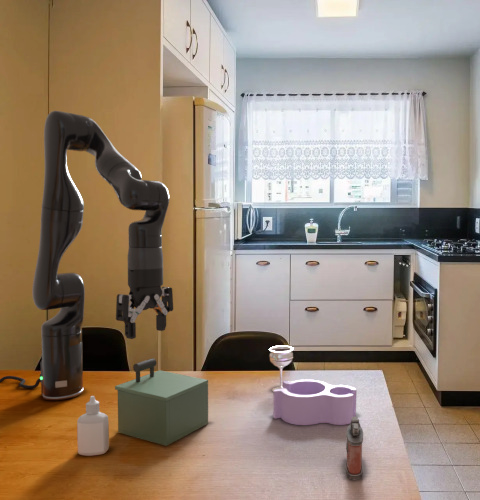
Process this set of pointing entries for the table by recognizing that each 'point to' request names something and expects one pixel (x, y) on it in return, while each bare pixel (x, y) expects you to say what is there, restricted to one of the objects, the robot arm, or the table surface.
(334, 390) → the clip
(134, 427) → the chest
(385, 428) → the table surface
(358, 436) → the lighter
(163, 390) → the lid
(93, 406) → the eye dropper bottle
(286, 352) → the wineglass
